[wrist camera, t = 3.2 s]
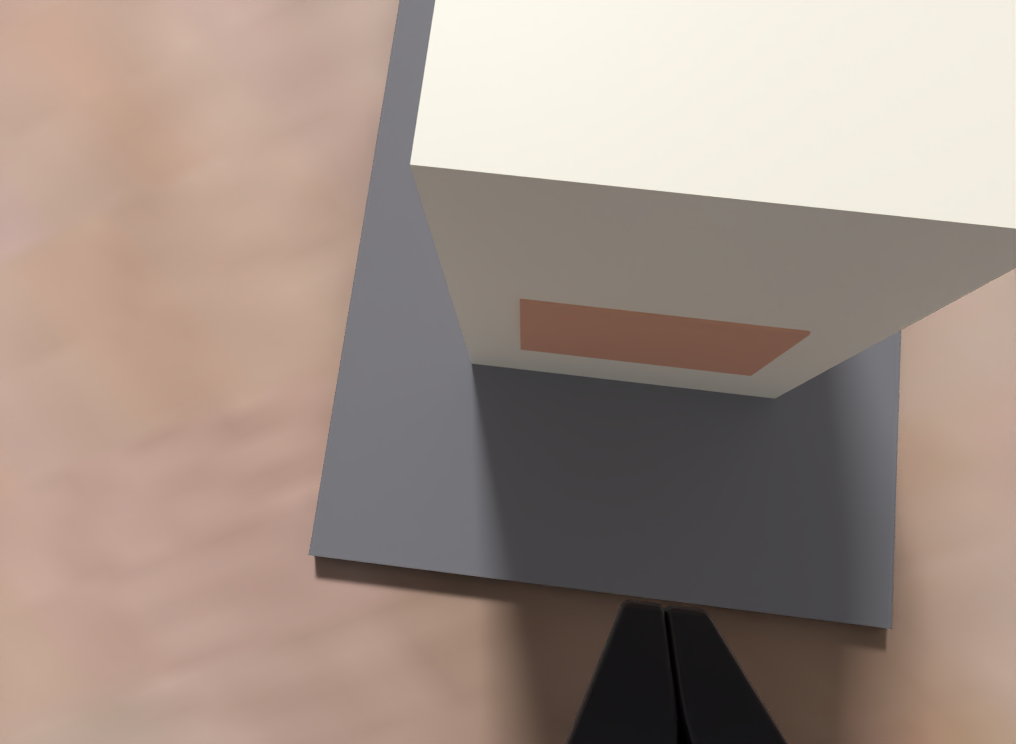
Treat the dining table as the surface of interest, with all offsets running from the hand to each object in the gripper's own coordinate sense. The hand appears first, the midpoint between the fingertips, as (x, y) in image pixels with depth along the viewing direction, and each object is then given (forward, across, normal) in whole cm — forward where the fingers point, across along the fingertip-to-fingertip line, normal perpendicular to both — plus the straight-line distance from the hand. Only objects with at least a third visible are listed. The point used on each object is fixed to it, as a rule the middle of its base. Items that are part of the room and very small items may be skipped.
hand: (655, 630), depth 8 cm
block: (+10, 0, 0) cm, 10 cm away
